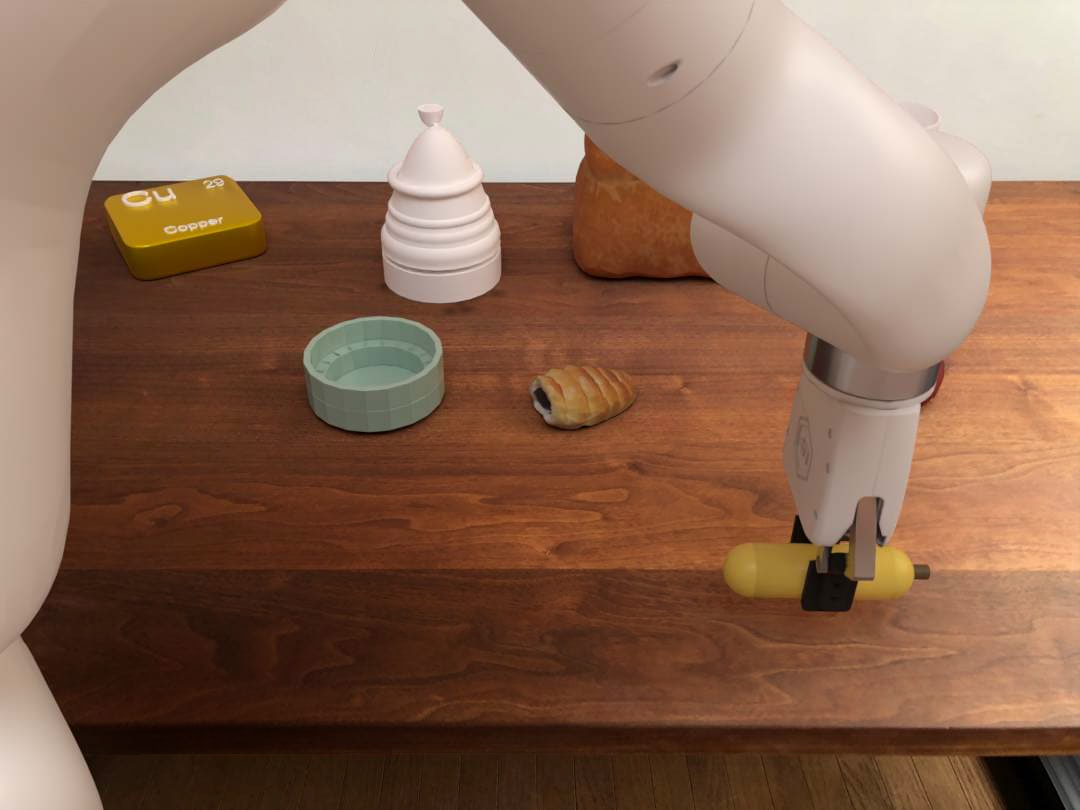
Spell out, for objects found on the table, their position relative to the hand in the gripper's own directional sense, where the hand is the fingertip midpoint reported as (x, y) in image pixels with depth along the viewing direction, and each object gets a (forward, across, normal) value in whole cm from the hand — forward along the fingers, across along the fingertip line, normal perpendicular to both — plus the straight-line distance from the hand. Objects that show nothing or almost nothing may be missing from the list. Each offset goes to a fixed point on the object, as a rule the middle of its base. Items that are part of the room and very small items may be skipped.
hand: (817, 582), depth 70 cm
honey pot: (+5, -52, -29) cm, 60 cm away
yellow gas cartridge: (+1, 0, 0) cm, 1 cm away
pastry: (+5, -27, -15) cm, 32 cm away
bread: (+5, -58, -4) cm, 58 cm away
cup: (+4, -66, +22) cm, 70 cm away
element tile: (+6, -60, -59) cm, 84 cm away
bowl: (+5, -29, -33) cm, 44 cm away
